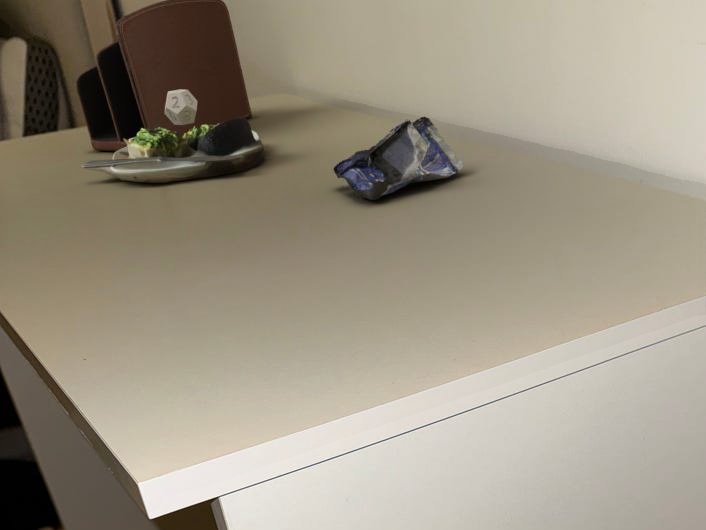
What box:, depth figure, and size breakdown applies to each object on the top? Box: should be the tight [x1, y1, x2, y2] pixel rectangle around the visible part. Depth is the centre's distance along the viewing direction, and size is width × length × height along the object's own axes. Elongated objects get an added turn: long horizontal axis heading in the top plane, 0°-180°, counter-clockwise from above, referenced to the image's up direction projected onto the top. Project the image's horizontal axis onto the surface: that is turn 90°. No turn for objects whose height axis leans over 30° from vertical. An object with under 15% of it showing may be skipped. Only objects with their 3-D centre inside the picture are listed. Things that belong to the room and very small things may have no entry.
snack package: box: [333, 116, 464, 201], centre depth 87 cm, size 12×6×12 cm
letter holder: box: [74, 0, 253, 152], centre depth 114 cm, size 10×20×14 cm, turn 155°
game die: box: [164, 89, 197, 125], centre depth 99 cm, size 4×4×3 cm
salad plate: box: [81, 118, 265, 184], centre depth 101 cm, size 19×18×5 cm
